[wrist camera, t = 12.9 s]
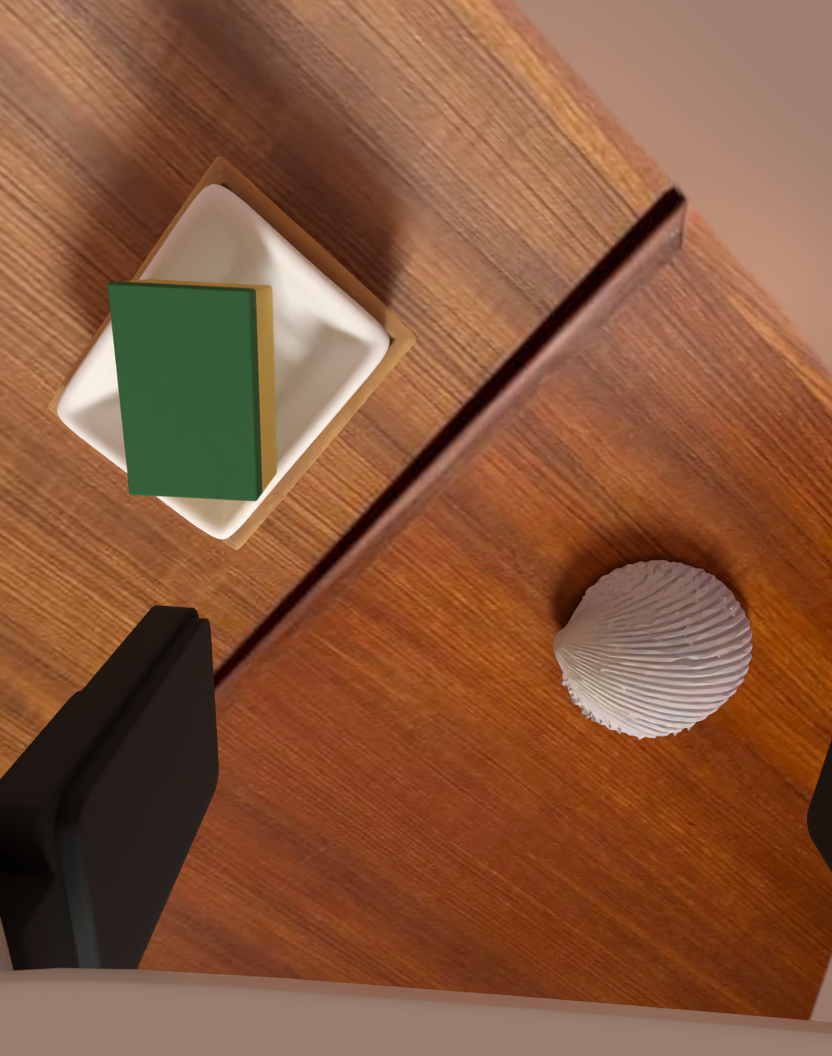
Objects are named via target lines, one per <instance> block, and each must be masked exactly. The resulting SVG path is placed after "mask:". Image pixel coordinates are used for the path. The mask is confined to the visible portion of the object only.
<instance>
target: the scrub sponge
mask: <svg viewBox="0 0 832 1056" xmlns="http://www.w3.org/2000/svg"><path fill="white" fill-rule="evenodd" d="M108 295H109V304H110V314H111V323H112V333H113V342H114V352H115V361H116V371H117V380H118V390H119V399H120V409H121V418H122V428H123V437H124V447H125V456H126V466H127V475H128V485H129V493H130V494H131V495H145V496H163V497H182V498H200V499H219V500H237V501H257V500H258V498H259V497H260V496H261V494H262V492H264V490H265V489H266V487H267V486H268V485H269V483H270V482H271V481H272V479H273V478H274V477H275V475H276V474H277V452H276V412H275V372H274V332H273V291H272V286H270V285H253V284H234V283H214V282H195V281H176V280H156V279H145V280H133V281H123V282H121V281H120V282H110V283H108Z"/></svg>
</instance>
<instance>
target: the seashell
mask: <svg viewBox="0 0 832 1056" xmlns="http://www.w3.org/2000/svg"><path fill="white" fill-rule="evenodd" d="M582 599H583V600H582V601H581V602H580V604H579V605H578V607H577V608H576V610H575V612H574V613H573V615H572V617H571V619H570V620H569V622H568V624H567V625H566V626H565V628H563V629H562V630H560V631H559V632H557V633H556V635H555V636H554V638H553V649H554V652H555V656H556V658H557V661H558V663H559V665H560V667H561V669H562V671H563V674H562V675H563V680H562V684H563V685H567V687H568V691H569V693H570V695H571V696H570V697H569V698H572V702H573V704H575V705H579V706H580V708H581V709H583V710H582V713H581V714H584V715H585V714H586V715H585V717H586V720H587V719H588V718H589V717H592V718H591V720H592V721H594V719H595V722H598V723H600V725H601V724H602V725H605V726H607V728H608V729H610V730H617V731H618V733H619V734H620V733H621V732H623V733H627V734H628V735H634V736H637V737H638V739H639V740H640V739H642V738H644V737H645V736H646V737H649V738H655V737H656V736H667V735H668V734H670V733H674V735H675V736H676V734H677V733H678V732H680V731H682V730H683V729H684V728H687V729H688V731H689V729H690V727H692V726H693V725H694V724H695V723H696V722H697V721H701V720H703V719H705V718H706V717H707V716H708V715H709V714H712V713H713V712H715V711H716V710H717V709H718V708H719V707H720V705H722V704H723V703H725V702H726V701H727V700H728V699H729V697H730V696H731V695H733V694H734V693H735V691H736V690H737V686H738V685H739V684H741V683H742V682H743V680H744V674H746V673H747V671H748V668H749V665H748V663H749V661H750V659H751V657H752V655H751V653H750V651H751V649H752V645H753V644H752V643H751V642H750V640H751V637H752V632H751V631H750V630H749V629H750V625H749V622H750V620H749V619H748V618H747V617H746V615H745V611H744V610H743V609H742V608H741V607H740V603H739V602H738V601H736V599H735V597H734V595H733V593H732V592H731V591H730V590H729V589H728V588H727V587H726V586H725V585H724V584H723V583H722V582H721V581H719V580H718V579H716V578H715V576H714V575H711V574H710V573H706V572H705V571H704V569H700V568H696V569H695V568H694V567H692V566H688V565H685V564H682V562H680V563H677V562H671V563H670V562H668V561H666V560H650V561H648V562H643V561H639V562H637V563H635V564H628V565H626V566H624V567H622V568H621V569H620V568H616V569H615V570H613V571H612V572H611V573H610V574H608V575H604V576H602V577H601V578H600V579H599V580H598V582H597V583H595V585H593V586H591V587H589V588H588V590H587V591H586V594H585V596H583V597H582Z"/></svg>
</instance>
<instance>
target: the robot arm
mask: <svg viewBox="0 0 832 1056" xmlns="http://www.w3.org/2000/svg"><path fill="white" fill-rule="evenodd" d="M218 773H219V761H218V745H217V728H216V711H215V694H214V677H213V660H212V643H211V628H210V623H209V620H208V619H203V618H199V616H198V613H197V611H196V609H195V608H187V607H173V606H159V605H157V606H154V607H152V608H151V609H150V610H149V612H148V613H147V614H146V615H145V616H144V617H143V619H142V620H141V621H140V622H139V623H138V625H137V626H136V627H135V628H134V629H133V630H132V632H131V633H130V634H129V635H128V636H127V638H126V639H125V640H124V641H123V642H122V644H121V645H120V646H119V647H118V648H117V649H116V651H115V652H114V653H113V654H112V655H111V657H110V658H109V659H108V660H107V661H106V662H105V664H104V665H103V666H102V667H101V668H100V670H99V671H98V672H97V673H96V674H95V676H94V677H93V678H92V679H91V680H90V681H89V683H88V684H87V685H86V686H85V687H84V689H83V690H82V691H79V692H77V693H75V694H74V695H73V696H72V697H71V698H70V699H69V700H68V701H67V702H66V703H65V704H64V706H63V707H62V708H61V709H60V710H59V712H58V713H57V714H56V715H55V716H54V717H53V719H52V720H51V721H50V722H49V723H48V724H47V726H46V727H45V728H44V729H43V730H42V731H41V733H40V734H39V735H38V736H37V737H36V738H35V740H34V741H33V742H32V743H31V744H30V745H29V747H28V748H27V749H26V750H25V751H24V752H23V754H22V755H21V756H20V757H19V758H18V759H17V761H16V762H15V763H14V764H13V765H12V766H11V768H10V769H9V770H8V771H7V772H6V773H5V775H4V776H3V777H2V778H1V779H0V1056H832V1022H820V1021H810V1020H798V1019H786V1018H774V1017H762V1016H750V1015H739V1014H727V1013H715V1012H703V1011H691V1010H679V1009H667V1008H655V1007H643V1006H631V1005H619V1004H607V1003H595V1002H582V1001H570V1000H558V999H546V998H534V997H521V996H509V995H496V994H483V993H470V992H457V991H444V990H431V989H418V988H405V987H392V986H379V985H366V984H353V983H340V982H327V981H314V980H301V979H288V978H273V977H256V976H239V975H222V974H205V973H188V972H171V971H154V970H138V969H137V968H138V966H139V963H140V961H141V959H142V957H143V954H144V952H145V950H146V947H147V945H148V943H149V941H150V938H151V936H152V934H153V931H154V929H155V927H156V925H157V922H158V920H159V918H160V916H161V913H162V911H163V909H164V906H165V904H166V902H167V900H168V897H169V895H170V893H171V890H172V888H173V886H174V884H175V881H176V879H177V877H178V874H179V872H180V870H181V868H182V865H183V863H184V861H185V858H186V856H187V854H188V852H189V849H190V847H191V845H192V843H193V840H194V838H195V836H196V833H197V831H198V829H199V827H200V824H201V822H202V820H203V817H204V815H205V813H206V811H207V808H208V806H209V804H210V801H211V799H212V797H213V795H214V792H215V789H216V785H217V780H218ZM807 825H808V830H809V834H810V836H811V838H812V841H813V842H814V844H815V846H816V847H817V849H818V850H819V852H820V854H821V855H822V857H823V858H824V860H825V862H826V863H827V865H828V867H829V868H830V870H831V871H832V740H831V743H830V746H829V749H828V752H827V755H826V758H825V761H824V764H823V767H822V770H821V773H820V776H819V779H818V782H817V785H816V788H815V791H814V794H813V797H812V800H811V803H810V807H809V810H808V814H807Z"/></svg>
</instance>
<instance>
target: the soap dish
mask: <svg viewBox="0 0 832 1056" xmlns="http://www.w3.org/2000/svg"><path fill="white" fill-rule="evenodd" d="M145 279H156V280H176V281H195V282H214V283H234V284H253V285H270V286H272V291H273V332H274V372H275V412H276V452H277V474H276V475H275V477H274V478H273V479H272V481H271V482H270V483H269V485H268V486H267V487H266V489H265V490H264V492H262V494H261V496H260V497H259V498H258V500H257V501H237V500H219V499H200V498H182V497H163V496H157V497H158V498H159V499H160V500H162V501H163V502H164V503H166V504H167V505H168V506H170V507H171V508H172V509H174V510H175V511H176V512H178V513H179V514H180V515H182V516H183V517H185V518H186V519H187V520H188V521H190V522H191V523H193V524H194V525H195V526H197V527H198V528H200V529H201V530H203V531H204V532H206V533H208V534H209V535H211V536H213V537H215V538H218V539H220V540H221V541H223V542H224V543H226V544H227V545H228V546H230V547H231V548H233V549H234V550H238V549H239V548H240V547H241V546H243V544H244V543H245V542H246V541H247V540H248V539H249V538H250V537H251V535H252V534H253V533H254V532H255V531H256V529H257V528H258V527H259V526H260V525H261V523H262V522H263V521H264V520H265V519H266V518H267V517H268V515H269V514H270V513H271V512H272V511H273V510H274V508H275V507H276V506H277V505H278V504H279V503H280V501H281V500H282V499H283V498H284V497H285V496H286V494H287V493H288V492H289V491H290V490H291V489H292V487H293V486H294V485H295V484H296V483H297V482H298V480H299V479H300V478H301V477H302V476H303V474H304V473H305V472H306V471H307V469H308V468H309V467H310V466H311V465H312V464H313V463H314V461H315V460H316V459H317V458H318V457H319V456H320V454H321V453H322V452H323V451H324V450H325V449H326V447H327V446H328V445H329V444H330V442H331V441H332V440H333V439H334V438H335V437H336V435H337V434H338V433H339V432H340V431H341V429H342V428H343V427H344V426H345V425H346V424H347V422H348V421H349V420H350V419H351V418H352V416H353V415H354V414H355V413H356V412H357V410H358V409H359V408H360V407H361V406H362V404H363V403H364V402H365V401H366V400H367V399H368V397H369V396H370V395H371V394H372V392H373V391H374V390H375V389H376V388H377V386H378V385H379V384H380V383H381V382H382V380H383V379H384V378H385V377H386V376H387V375H388V373H389V372H390V371H391V370H392V369H393V368H394V366H395V365H396V364H397V363H398V362H399V360H400V359H401V358H402V357H403V356H404V354H405V353H406V352H407V351H408V350H409V349H410V347H411V346H412V345H413V344H414V342H415V341H416V340H417V338H418V336H417V335H416V334H415V333H414V332H413V331H412V330H411V329H410V328H409V327H408V326H407V325H406V324H405V323H404V322H403V321H402V320H401V319H399V318H398V317H397V316H396V315H395V314H394V313H393V312H392V311H391V310H390V309H389V308H387V307H386V306H385V305H384V304H383V303H382V302H381V301H380V300H379V299H378V298H377V297H376V296H375V295H374V294H373V293H371V292H370V291H369V290H368V289H367V288H366V287H365V286H364V285H363V284H362V283H361V282H360V281H359V280H357V279H356V278H355V277H354V276H353V275H352V274H351V273H350V272H349V271H348V270H346V269H345V268H344V267H343V266H342V265H341V264H340V263H339V262H338V261H337V260H336V259H335V258H334V257H333V256H331V255H330V254H329V253H328V252H327V251H326V250H325V249H324V248H323V247H322V246H321V245H319V244H318V243H317V242H316V241H315V240H314V239H313V238H312V237H311V236H309V235H308V234H307V233H306V232H305V231H304V230H303V229H302V228H301V227H300V226H298V225H297V224H296V223H295V222H294V221H293V220H292V219H291V218H290V217H289V216H287V215H286V214H285V213H284V212H283V211H282V210H281V209H280V208H279V207H278V206H277V205H276V204H274V203H273V202H272V201H271V200H270V199H269V198H268V197H267V196H266V195H265V194H264V193H262V192H261V191H260V190H259V189H258V188H257V187H256V186H255V185H254V184H253V183H252V182H251V181H249V180H248V179H247V178H246V177H245V176H244V175H243V174H242V173H240V172H239V171H238V170H237V169H236V168H235V167H234V166H233V165H232V164H231V163H230V162H229V161H227V160H226V159H225V158H223V157H222V156H218V157H217V158H216V159H215V160H214V161H213V162H212V164H211V165H210V167H209V168H208V169H207V171H206V173H205V174H204V175H203V177H202V178H201V180H200V181H199V182H198V184H197V185H196V187H195V189H194V190H193V191H192V193H191V194H190V196H189V197H188V198H187V200H186V201H185V202H184V204H183V205H182V207H181V208H180V210H179V211H178V213H177V214H176V216H175V217H174V219H173V220H172V221H171V223H170V224H169V226H168V227H167V228H166V230H165V232H164V233H163V235H162V236H161V237H160V238H159V241H158V242H157V244H156V245H155V246H154V248H153V249H152V250H151V252H150V253H149V255H148V256H147V258H146V260H145V261H144V262H143V263H142V265H141V266H140V268H139V269H138V271H137V272H136V274H135V276H134V277H133V278H132V280H131V281H133V280H145ZM48 408H49V409H50V410H51V411H52V412H53V413H54V414H55V415H56V416H57V417H59V418H60V419H61V420H62V421H63V422H64V423H65V424H66V425H67V426H68V427H69V428H70V429H71V430H72V431H73V432H75V433H76V434H77V435H78V436H80V437H81V438H82V439H84V440H85V441H86V442H87V443H89V444H90V445H91V446H92V447H94V448H95V449H96V450H98V451H99V452H100V453H102V454H103V455H104V456H105V457H107V458H108V459H109V460H111V461H112V462H113V463H115V464H116V465H117V466H119V467H120V468H121V469H122V470H124V471H125V472H126V473H127V466H126V456H125V447H124V437H123V428H122V418H121V409H120V399H119V390H118V380H117V371H116V361H115V352H114V342H113V333H112V323H111V314H110V312H109V314H108V316H107V317H106V318H105V320H104V321H103V323H102V324H101V326H100V327H99V328H98V330H97V332H96V333H95V335H94V336H93V338H92V339H91V341H90V342H89V344H88V345H87V347H86V348H85V350H84V351H83V353H82V354H81V356H80V357H79V359H78V360H77V362H76V363H75V365H74V366H73V368H72V369H71V371H70V372H69V374H68V375H67V377H66V378H65V379H64V381H63V382H62V384H61V385H60V387H59V388H58V390H57V391H56V393H55V394H54V396H53V397H52V399H51V400H50V402H49V404H48Z"/></svg>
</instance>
